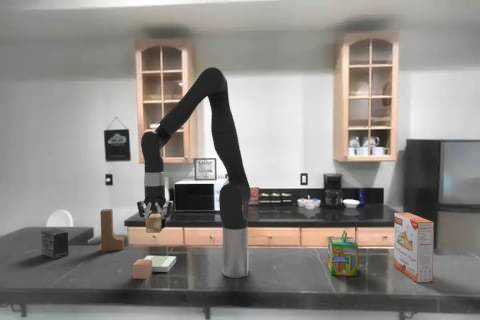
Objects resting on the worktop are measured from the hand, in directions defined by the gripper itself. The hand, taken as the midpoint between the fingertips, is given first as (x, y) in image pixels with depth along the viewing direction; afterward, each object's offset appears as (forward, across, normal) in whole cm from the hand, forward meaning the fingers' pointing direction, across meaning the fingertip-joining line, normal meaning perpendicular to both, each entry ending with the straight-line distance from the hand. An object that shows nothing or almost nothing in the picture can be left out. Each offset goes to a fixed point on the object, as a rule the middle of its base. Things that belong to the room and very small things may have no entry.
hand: (155, 227), depth 115 cm
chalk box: (+16, -70, -2) cm, 72 cm away
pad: (+15, 0, -1) cm, 15 cm away
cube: (+15, +2, +8) cm, 17 cm away
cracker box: (+16, -94, -1) cm, 95 cm away
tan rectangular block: (+1, 0, 0) cm, 1 cm away
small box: (+15, +48, -8) cm, 51 cm away
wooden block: (+15, +27, -17) cm, 36 cm away
